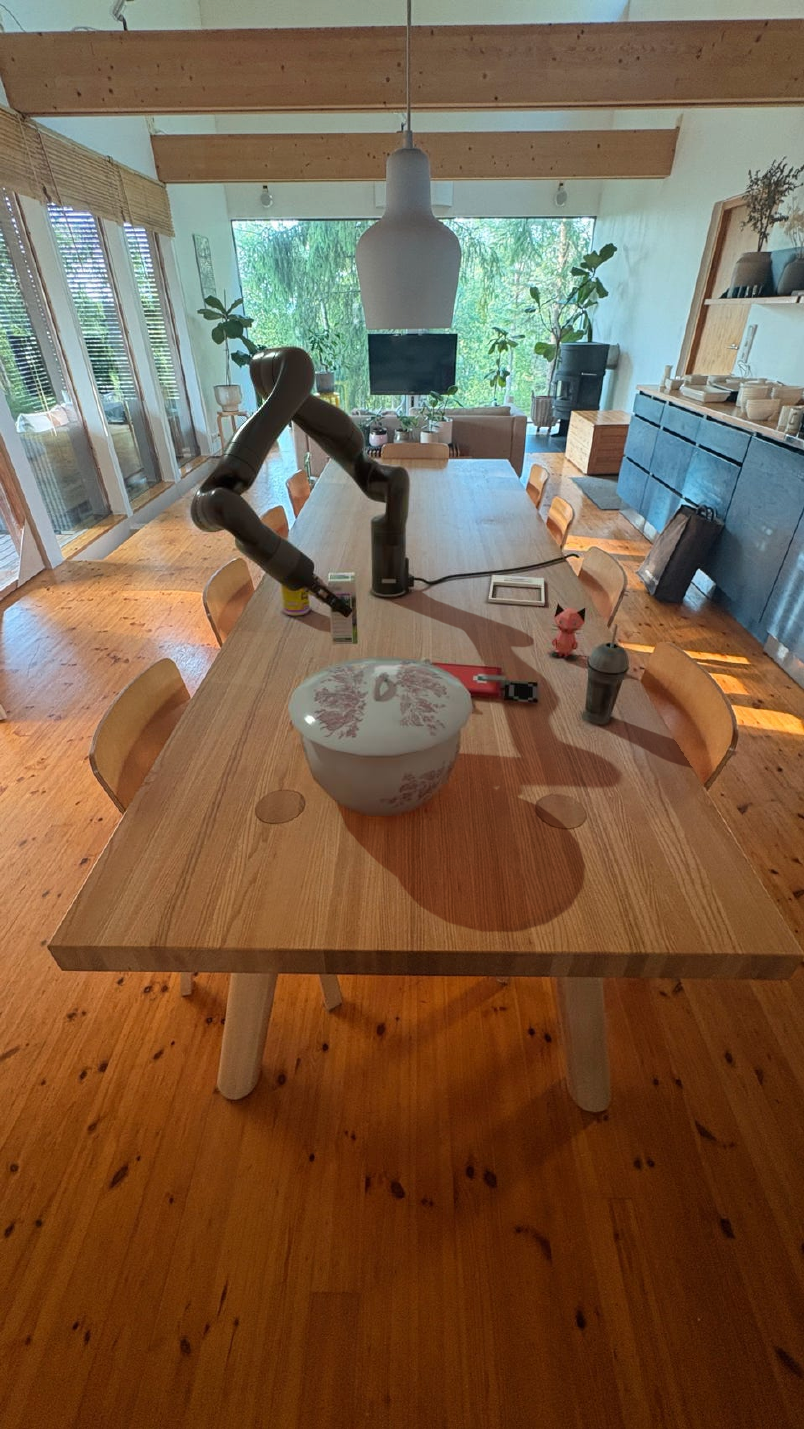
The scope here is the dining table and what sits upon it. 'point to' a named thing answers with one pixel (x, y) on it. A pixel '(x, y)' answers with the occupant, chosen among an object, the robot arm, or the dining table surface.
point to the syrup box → (346, 590)
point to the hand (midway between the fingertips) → (341, 607)
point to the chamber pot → (381, 731)
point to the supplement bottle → (295, 601)
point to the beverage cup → (604, 680)
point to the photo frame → (521, 583)
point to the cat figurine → (567, 630)
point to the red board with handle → (491, 682)
